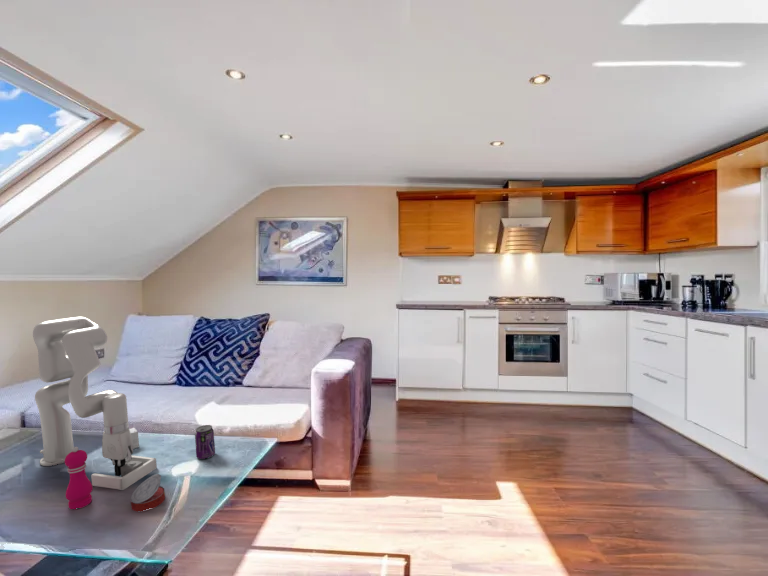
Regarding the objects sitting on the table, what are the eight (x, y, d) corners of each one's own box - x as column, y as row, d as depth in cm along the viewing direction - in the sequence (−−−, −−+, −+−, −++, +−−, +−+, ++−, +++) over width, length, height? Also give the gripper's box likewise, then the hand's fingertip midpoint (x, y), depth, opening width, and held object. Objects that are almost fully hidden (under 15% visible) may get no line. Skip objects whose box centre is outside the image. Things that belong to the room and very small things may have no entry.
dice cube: (132, 481, 147) (131, 468, 146) (121, 480, 148) (120, 467, 148) (143, 474, 152) (142, 461, 151) (133, 473, 153) (132, 460, 152)
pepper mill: (76, 498, 137) (71, 442, 136) (98, 496, 138) (93, 441, 136) (61, 511, 130) (55, 452, 129) (84, 509, 131) (79, 451, 129)
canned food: (161, 518, 133) (157, 501, 128) (127, 520, 130) (122, 503, 125) (171, 486, 142) (168, 469, 137) (139, 487, 140) (135, 470, 135)
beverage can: (208, 461, 160) (206, 432, 159) (192, 459, 162) (190, 431, 161) (218, 452, 167) (217, 424, 166) (203, 451, 169) (201, 424, 168)
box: (92, 485, 145) (91, 475, 145) (127, 464, 160) (127, 454, 159) (123, 490, 142) (122, 479, 141) (156, 468, 156) (156, 458, 156)
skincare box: (135, 442, 178) (134, 427, 178) (139, 447, 174) (138, 430, 174) (119, 447, 174) (118, 431, 173) (123, 452, 170) (121, 435, 169)
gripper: (91, 429, 147) (95, 477, 149) (123, 433, 143) (127, 482, 145) (109, 421, 154) (113, 466, 156) (141, 424, 151) (144, 471, 152)
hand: (120, 474), depth 150 cm, fingers closed
